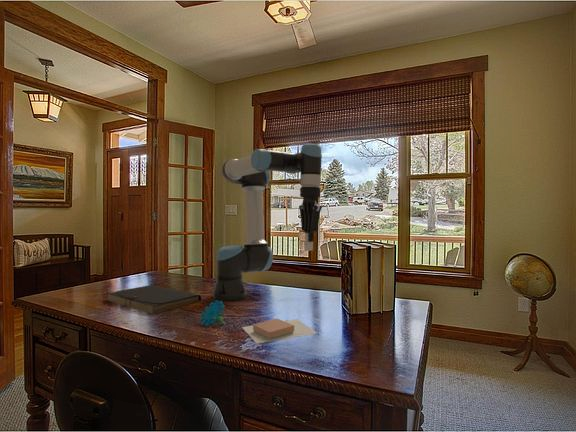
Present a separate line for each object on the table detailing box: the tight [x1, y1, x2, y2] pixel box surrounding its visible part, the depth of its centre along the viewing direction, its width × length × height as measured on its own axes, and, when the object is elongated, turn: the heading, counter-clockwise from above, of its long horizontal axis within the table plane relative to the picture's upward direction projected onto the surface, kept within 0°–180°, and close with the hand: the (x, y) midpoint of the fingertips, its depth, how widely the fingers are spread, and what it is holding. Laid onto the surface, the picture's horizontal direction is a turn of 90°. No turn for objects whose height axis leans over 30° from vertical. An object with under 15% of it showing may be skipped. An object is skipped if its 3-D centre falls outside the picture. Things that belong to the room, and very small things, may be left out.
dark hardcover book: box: [106, 284, 202, 315], centre depth 143 cm, size 33×4×24 cm
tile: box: [252, 318, 294, 340], centre depth 107 cm, size 2×9×10 cm
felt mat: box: [241, 319, 318, 344], centre depth 109 cm, size 15×21×1 cm
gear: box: [199, 299, 226, 327], centre depth 116 cm, size 11×6×10 cm
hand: (308, 250), depth 122 cm, fingers closed
